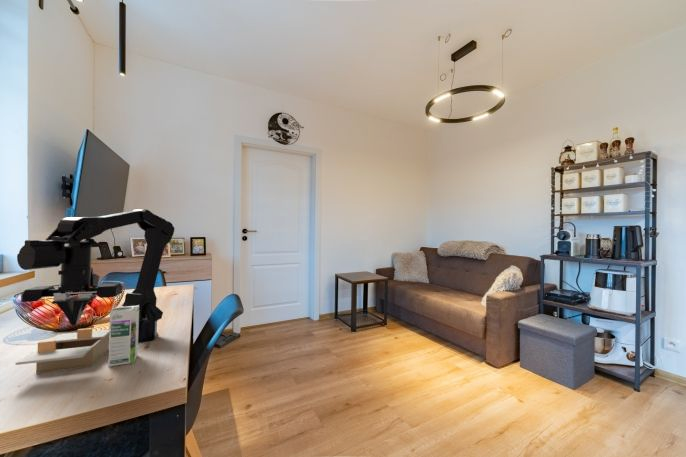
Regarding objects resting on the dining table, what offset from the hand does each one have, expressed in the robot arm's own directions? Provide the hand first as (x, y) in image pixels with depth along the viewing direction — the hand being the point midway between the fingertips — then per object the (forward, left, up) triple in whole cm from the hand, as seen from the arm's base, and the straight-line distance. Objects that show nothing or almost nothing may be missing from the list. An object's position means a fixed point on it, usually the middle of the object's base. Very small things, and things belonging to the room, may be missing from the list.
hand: (74, 324), depth 75 cm
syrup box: (-11, +1, -11) cm, 16 cm away
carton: (+1, -4, -11) cm, 11 cm away
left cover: (+1, +6, -6) cm, 8 cm away
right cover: (+1, -7, -6) cm, 9 cm away
